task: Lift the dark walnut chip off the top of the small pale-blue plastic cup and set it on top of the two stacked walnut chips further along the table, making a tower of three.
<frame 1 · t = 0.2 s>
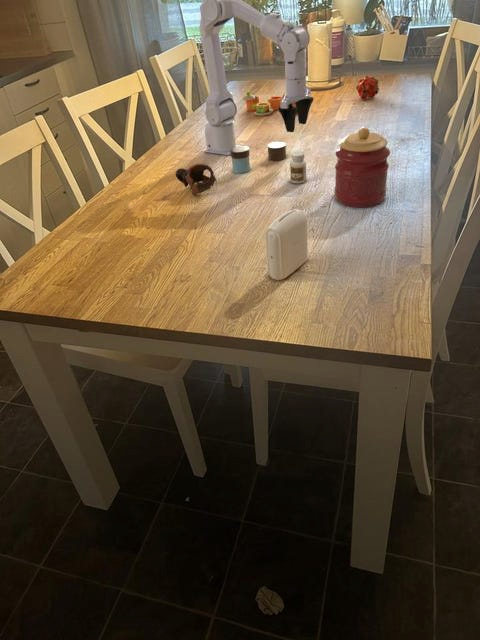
hand: (296, 127, 146), 10 cm above the table, tool pointing down, fingers open, 7 cm apart
base chip: (277, 157, 156), on the table, touching middle chip
kitchen canister: (359, 198, 128), on the table
toy tea set: (275, 111, 198), on the table
pottery mug: (197, 190, 142), on the table
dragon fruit: (367, 98, 201), on the table
pill bottle: (298, 181, 140), on the table
top chip: (240, 155, 148), point 4 cm above the table, touching cup
middle chip: (276, 151, 155), point 2 cm above the table, touching base chip
photo printer: (288, 269, 104), on the table
cup: (241, 170, 150), on the table, touching top chip
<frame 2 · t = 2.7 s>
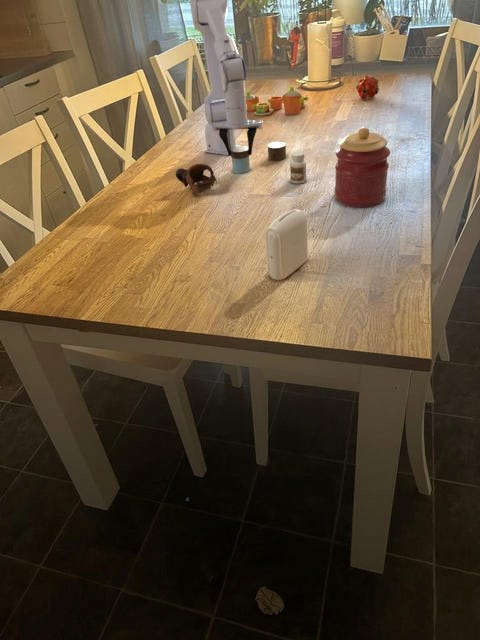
hand: (240, 154, 147), 5 cm above the table, tool pointing down, fingers closed on top chip, 5 cm apart
top chip: (240, 155, 148), point 4 cm above the table, touching cup, gripper
everything else where it was.
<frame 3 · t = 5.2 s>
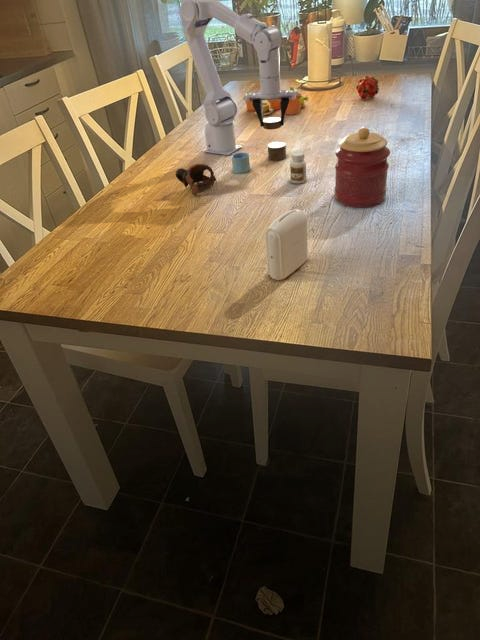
hand: (272, 125, 149), 10 cm above the table, tool pointing down, fingers closed on top chip, 5 cm apart
top chip: (272, 126, 150), point 10 cm above the table, touching gripper
cup: (241, 170, 150), on the table
everything else where it was.
when the fingers open (4 cm above the table, at t = 7.6 s): top chip stays where it is, resting on middle chip.
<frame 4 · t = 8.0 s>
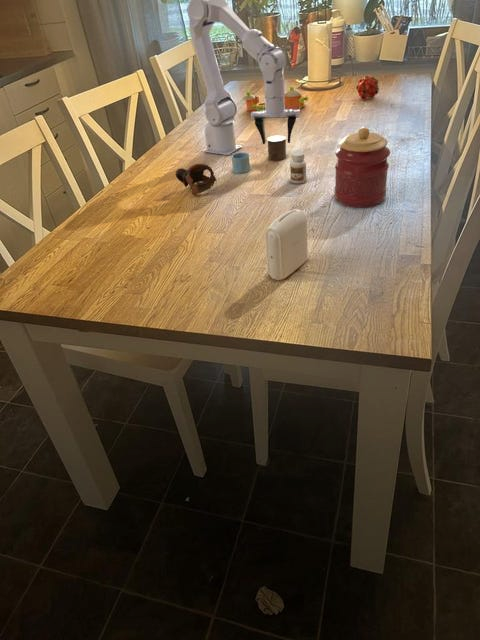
hand: (276, 142, 153), 5 cm above the table, tool pointing down, fingers open, 7 cm apart
top chip: (276, 144, 154), point 4 cm above the table, touching middle chip
middle chip: (276, 151, 155), point 2 cm above the table, touching base chip, top chip
everything else where it was.
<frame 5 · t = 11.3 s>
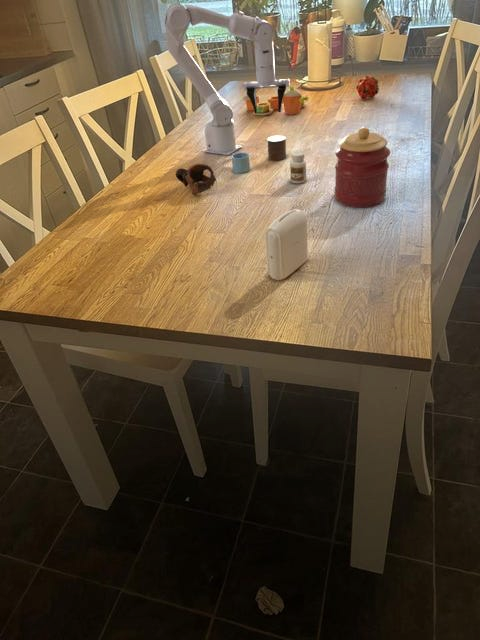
hand: (268, 111, 161), 10 cm above the table, tool pointing down, fingers open, 7 cm apart
nothing on the table moved.
at the end: top chip 0.1 cm off-centre on the base chip, point 4.0 cm above the base chip's base; top chip tilted 0°; the gripper is holding nothing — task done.
